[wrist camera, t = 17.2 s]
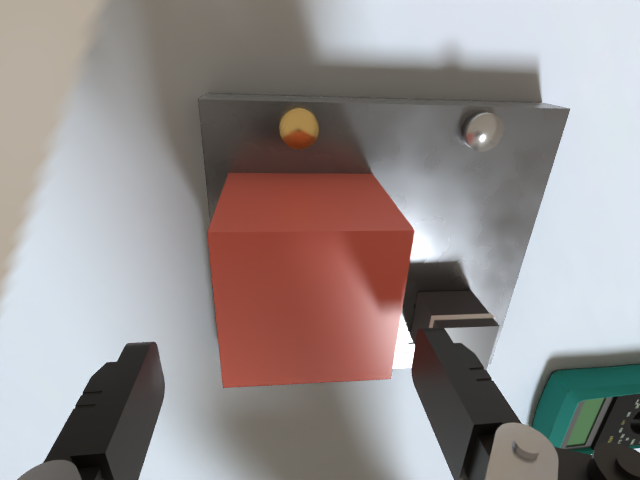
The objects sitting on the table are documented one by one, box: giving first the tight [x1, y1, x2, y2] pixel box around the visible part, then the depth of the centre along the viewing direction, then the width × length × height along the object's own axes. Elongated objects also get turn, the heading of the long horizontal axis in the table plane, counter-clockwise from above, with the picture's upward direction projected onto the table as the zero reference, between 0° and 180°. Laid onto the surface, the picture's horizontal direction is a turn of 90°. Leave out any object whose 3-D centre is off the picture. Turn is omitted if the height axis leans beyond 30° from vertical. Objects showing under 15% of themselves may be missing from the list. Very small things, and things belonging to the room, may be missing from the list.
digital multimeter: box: [532, 364, 640, 455], centre depth 29 cm, size 7×15×3 cm, turn 92°
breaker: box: [410, 290, 500, 370], centre depth 20 cm, size 3×3×3 cm
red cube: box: [207, 173, 415, 388], centre depth 16 cm, size 6×6×6 cm
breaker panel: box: [198, 93, 570, 368], centre depth 20 cm, size 15×16×3 cm
